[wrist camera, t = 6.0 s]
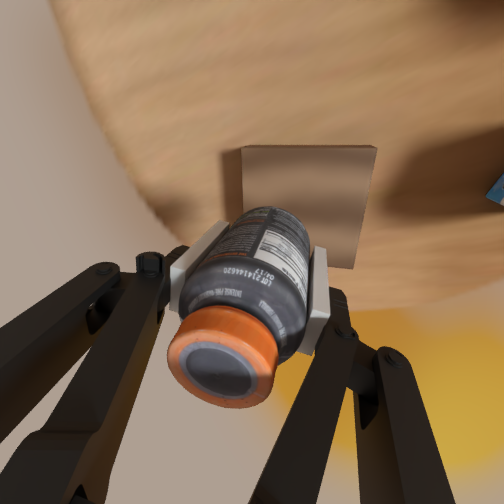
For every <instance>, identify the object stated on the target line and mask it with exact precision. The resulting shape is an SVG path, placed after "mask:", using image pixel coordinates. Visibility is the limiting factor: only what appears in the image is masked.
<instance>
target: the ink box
mask: <svg viewBox="0 0 504 504" xmlns="http://www.w3.org/2000/svg"><path fill="white" fill-rule="evenodd" d="M486 198H488V199H490V200H492V201H494V202H497V203H499V204H501V205H503V206H504V173H503V174H502V176H501V177H500V178H499V179H498V181H497V182H496V183H495V184H494V186H493V187H492V188H491V189H490V191H489V192H488V193H487V194H486Z"/></svg>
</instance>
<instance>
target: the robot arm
mask: <svg viewBox="0 0 504 504" xmlns="http://www.w3.org/2000/svg"><path fill="white" fill-rule="evenodd" d="M229 224H230V223H229V222H225V221H221V220H219V221H218V222H217V223H216V224H215V225H214V226H213V227H211V228H210V229H209V230H208V231H207V232H206V233H205V234H204V235H203V236H202V237H201V238H200V239H199V240H198V241H197V242H196V243H195V244H193V245H192V246H191V247H188V246H184V245H182V246H179V247H176V248H175V249H174V250H172V251H171V253H169V254H168V255H167V256H165V257H164V255H162V254H160V253H157V252H144V253H141V254H139V255H138V256H137V257H136V270H137V272H136V273H126V272H120V267H119V266H118V265H117V264H115V263H112V262H101V263H97V264H95V265H93V266H90V267H89V268H88V269H86V270H85V271H83V272H82V273H80V274H79V275H77V276H76V277H74V278H73V279H72V280H70V281H69V282H67V283H66V284H64V285H63V286H61V287H60V288H58V289H57V290H55V291H54V292H52V293H51V294H49V295H48V296H47V297H45V298H44V299H42V300H41V301H39V302H38V303H36V304H35V305H33V306H32V307H30V308H29V309H27V310H26V311H25V312H23V313H22V314H20V315H19V316H17V317H16V318H14V319H13V320H12V321H10V322H9V323H7V324H6V325H4V326H3V327H1V328H0V443H1V442H2V441H3V440H4V439H5V438H6V437H7V436H8V435H9V434H10V433H11V431H12V430H13V429H14V428H15V427H16V426H17V425H18V424H19V423H20V422H21V421H22V420H23V419H24V418H25V417H26V415H27V414H28V413H29V412H30V411H31V410H32V409H33V408H34V407H35V406H36V405H37V404H38V403H39V402H40V401H41V400H42V398H43V397H44V396H45V395H46V394H47V393H48V392H49V391H50V390H51V389H52V388H53V387H54V386H55V384H56V383H57V382H58V381H59V380H60V379H61V378H62V377H63V376H64V375H65V374H66V373H67V372H68V371H69V370H70V369H71V368H72V366H73V365H74V364H75V363H76V362H77V361H78V360H79V359H80V358H81V357H82V356H83V355H84V354H85V353H86V352H87V350H88V349H89V348H90V347H91V346H92V347H91V348H90V350H89V352H88V353H87V355H86V357H85V359H84V361H83V362H82V363H81V365H80V367H79V368H78V370H77V372H76V373H75V375H74V377H73V379H72V380H71V382H70V383H69V385H68V387H67V389H66V390H65V392H64V393H63V395H62V397H61V399H60V400H59V402H58V404H57V405H56V407H55V409H54V410H53V412H52V413H51V415H50V417H49V418H48V420H47V422H46V423H45V425H44V426H43V427H42V428H41V429H40V430H38V431H35V432H32V433H30V434H29V435H28V436H27V437H26V438H25V439H24V440H23V441H22V442H21V444H20V445H19V446H18V447H17V449H16V450H15V452H14V453H13V455H12V457H11V458H10V460H9V461H8V463H7V464H6V466H5V467H4V469H3V471H2V472H1V474H0V504H104V503H105V500H106V495H107V492H108V486H109V479H110V474H111V471H112V467H113V464H114V462H115V458H116V456H117V453H118V450H119V447H120V444H121V441H122V438H123V435H124V432H125V429H126V426H127V423H128V420H129V417H130V414H131V411H132V408H133V405H134V402H135V399H136V397H137V394H138V391H139V388H140V385H141V382H142V379H143V376H144V373H145V370H146V367H147V364H148V361H149V358H150V355H151V352H152V349H153V346H154V344H155V340H156V338H157V335H158V332H159V329H160V326H161V323H162V320H163V317H164V313H165V306H166V305H167V304H168V303H169V302H170V303H169V305H170V306H169V310H171V311H174V312H177V313H178V304H179V297H180V293H181V290H182V288H183V286H184V284H185V282H186V280H187V279H188V278H189V277H190V275H191V274H192V273H193V272H194V271H195V269H196V268H197V267H198V266H199V265H200V264H201V262H202V261H203V260H204V259H205V258H206V256H207V255H208V254H209V253H210V251H211V250H212V249H213V248H214V247H215V246H216V244H217V243H218V242H219V241H220V240H221V238H222V237H223V236H224V235H225V233H226V232H227V231H228V230H229ZM91 304H92V305H91ZM90 305H91V306H90ZM358 337H359V336H358V334H357V332H356V331H355V330H354V329H353V328H352V327H351V323H350V317H349V311H348V305H347V299H346V296H345V294H344V293H343V292H342V290H339V289H336V288H332V287H329V285H328V270H327V255H326V249H325V248H321V247H318V246H314V249H313V252H312V255H311V258H310V261H309V279H308V297H307V315H306V331H305V335H304V338H303V340H302V343H301V345H300V346H299V348H298V349H297V351H298V352H301V353H304V354H307V355H310V356H312V354H313V351H314V349H315V357H314V359H313V361H312V363H311V365H310V367H309V370H308V372H307V374H306V376H305V379H304V381H303V383H302V385H301V387H300V390H299V392H298V394H297V396H296V398H295V401H294V403H293V405H292V408H291V410H290V412H289V414H288V416H287V418H286V421H285V423H284V425H283V427H282V429H281V432H280V434H279V436H278V438H277V441H276V443H275V445H274V447H273V449H272V452H271V454H270V456H269V459H268V460H267V463H266V465H265V467H264V469H263V471H262V474H261V476H260V478H259V480H258V482H257V485H256V487H255V489H254V491H253V494H252V496H251V498H250V500H249V502H248V504H316V502H317V497H318V494H319V490H320V486H321V482H322V479H323V475H324V470H325V467H326V463H327V459H328V456H329V452H330V448H331V444H332V440H333V436H334V433H335V429H336V425H337V421H338V417H339V413H340V410H341V406H342V402H343V398H344V394H345V391H346V387H348V388H349V389H351V390H352V391H353V398H354V414H355V429H356V443H357V459H358V475H359V490H360V503H361V504H456V503H455V500H454V497H453V494H452V491H451V488H450V485H449V482H448V479H447V476H446V472H445V469H444V466H443V463H442V460H441V457H440V454H439V451H438V447H437V444H436V441H435V438H434V435H433V432H432V429H431V426H430V423H429V420H428V417H427V413H426V410H425V407H424V404H423V401H422V398H421V395H420V391H419V389H418V386H417V382H416V379H415V376H414V373H413V370H412V367H411V364H410V363H409V361H408V359H407V358H406V357H405V356H404V355H403V354H401V353H400V352H399V351H397V350H395V349H393V348H391V347H385V346H384V347H380V348H379V349H378V350H377V351H376V350H374V349H373V348H371V347H369V346H367V345H366V344H364V343H362V342H361V341H360V340H359V338H358Z"/></svg>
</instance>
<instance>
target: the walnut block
mask: <svg viewBox="0 0 504 504" xmlns="http://www.w3.org/2000/svg"><path fill="white" fill-rule="evenodd" d="M376 153H377V148H376V147H374V146H371V145H249V146H245V147H242V148H241V157H242V186H243V214H244V213H246V212H247V211H249V210H252V209H254V208H257V207H268V206H272V207H277V208H281V209H284V210H286V211H288V212H290V213H291V214H293V215H294V216H295V217H297V218H298V219H299V220H300V221H301V222H302V224H303V225H304V227H305V229H306V231H307V233H308V235H309V240H310V258H311V255H312V252H313V249H314V246H318V247H321V248H325V249H326V255H327V267H335V268H345V269H353V267H354V262H355V257H356V252H357V247H358V242H359V237H360V232H361V227H362V222H363V218H364V213H365V208H366V203H367V198H368V193H369V188H370V183H371V178H372V173H373V168H374V163H375V158H376Z"/></svg>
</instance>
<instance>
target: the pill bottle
mask: <svg viewBox="0 0 504 504" xmlns="http://www.w3.org/2000/svg"><path fill="white" fill-rule="evenodd" d="M309 261H310V240H309V235H308V233H307V231H306V229H305V227H304V225H303V224H302V222H301V221H300V220H299V219H298V218H297V217H295V216H294V215H293V214H291V213H290V212H288V211H286V210H284V209H281V208H277V207H272V206H268V207H257V208H254V209H252V210H249V211H247V212H246V213H244V214H243V215H241V216H240V217H239V218H238V219H237V221H236V222H235V223H234V224H233V225H232V226H231V227H230V229H229V230H228V231H227V232H226V233H225V235H224V236H223V237H222V238H221V240H220V241H219V242H218V243H217V244H216V246H215V247H214V248H213V249H212V250H211V251H210V253H209V254H208V255H207V256H206V258H205V259H204V260H203V261H202V262H201V264H200V265H199V266H198V267H197V268H196V269H195V271H194V272H193V273H192V274H191V275H190V277H189V278H188V279H187V280H186V282H185V284H184V286H183V288H182V290H181V293H180V297H179V304H178V313H179V317H180V321H181V325H180V327H179V330H178V331H177V333H176V335H175V336H174V338H173V339H172V341H171V343H170V345H169V347H168V350H167V362H168V367H169V369H170V371H171V372H172V374H173V376H174V377H175V378H176V380H177V381H178V382H179V383H180V384H181V385H182V386H183V387H184V388H185V389H186V390H187V391H189V392H190V393H191V394H193V395H195V396H196V397H198V398H200V399H202V400H204V401H206V402H208V403H211V404H214V405H217V406H220V407H224V408H239V409H240V408H248V407H252V406H256V405H258V404H259V403H261V402H263V401H264V400H265V399H266V398H267V397H268V396H269V394H270V393H271V390H272V387H273V383H274V377H275V372H276V369H277V366H278V365H280V364H281V363H283V362H285V361H286V360H288V359H289V358H290V357H291V356H292V355H293V354H294V353H295V352H296V351H297V349H298V348H299V346H300V345H301V343H302V340H303V338H304V335H305V331H306V315H307V297H308V279H309Z"/></svg>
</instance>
